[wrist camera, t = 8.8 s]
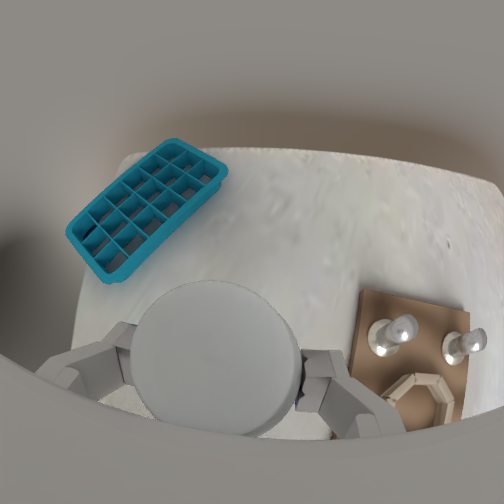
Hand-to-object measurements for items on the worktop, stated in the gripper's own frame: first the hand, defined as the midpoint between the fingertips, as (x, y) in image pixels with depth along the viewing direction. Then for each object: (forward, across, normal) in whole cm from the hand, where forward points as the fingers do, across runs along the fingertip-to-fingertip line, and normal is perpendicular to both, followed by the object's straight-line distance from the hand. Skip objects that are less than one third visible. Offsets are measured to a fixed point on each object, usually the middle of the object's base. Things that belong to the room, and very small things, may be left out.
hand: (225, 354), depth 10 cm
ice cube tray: (+25, +14, 0) cm, 29 cm away
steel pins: (+14, -19, +9) cm, 25 cm away
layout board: (+11, -19, +13) cm, 25 cm away
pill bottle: (+4, 0, +4) cm, 6 cm away
